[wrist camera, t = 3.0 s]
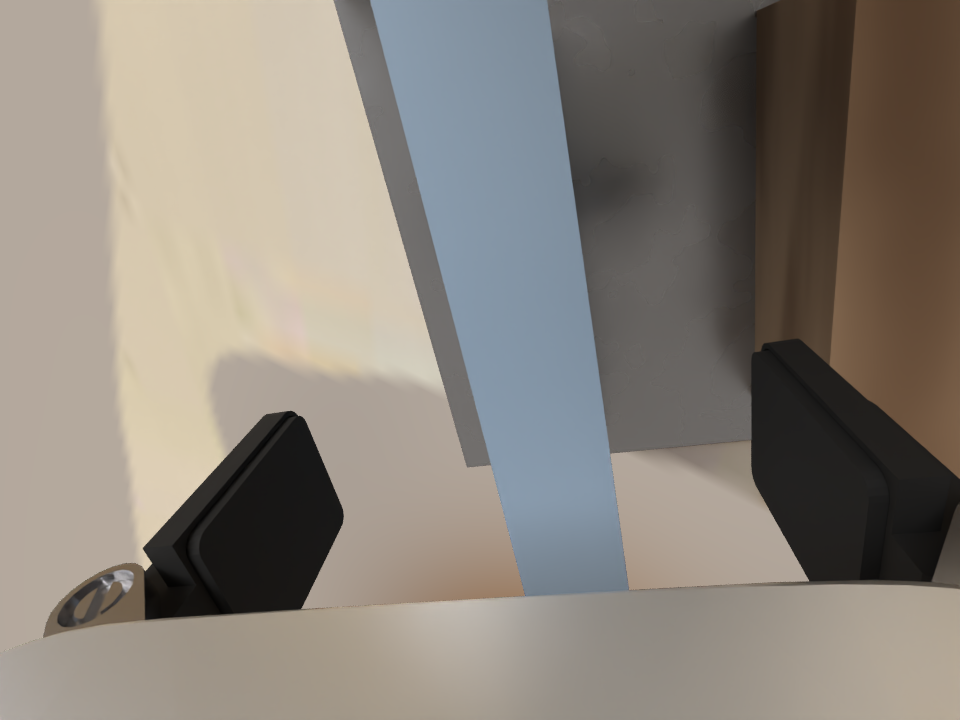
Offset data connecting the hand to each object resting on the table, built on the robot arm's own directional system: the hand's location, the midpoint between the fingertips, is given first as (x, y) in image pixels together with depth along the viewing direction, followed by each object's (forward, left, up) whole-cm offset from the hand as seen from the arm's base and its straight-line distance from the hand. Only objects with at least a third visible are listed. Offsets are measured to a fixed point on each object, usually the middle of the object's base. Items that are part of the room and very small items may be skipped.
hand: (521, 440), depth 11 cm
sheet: (-1, 0, -11) cm, 11 cm away
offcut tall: (-10, 0, -11) cm, 15 cm away
